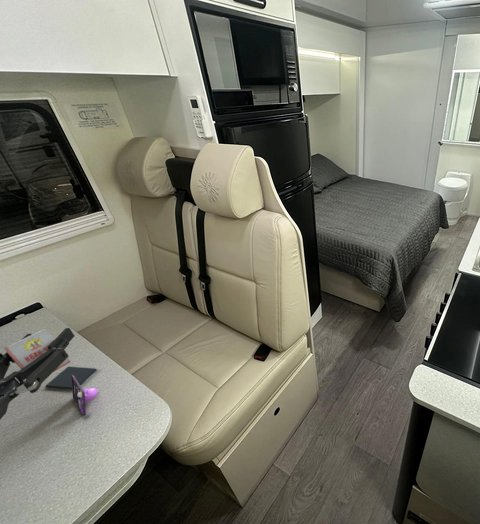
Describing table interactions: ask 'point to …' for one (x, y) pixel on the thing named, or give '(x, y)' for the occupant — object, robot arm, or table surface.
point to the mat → (66, 377)
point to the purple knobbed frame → (82, 394)
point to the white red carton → (31, 348)
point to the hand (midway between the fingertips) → (51, 335)
